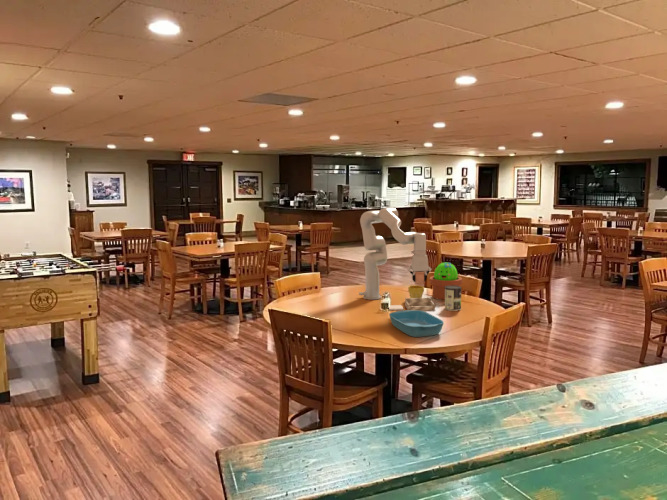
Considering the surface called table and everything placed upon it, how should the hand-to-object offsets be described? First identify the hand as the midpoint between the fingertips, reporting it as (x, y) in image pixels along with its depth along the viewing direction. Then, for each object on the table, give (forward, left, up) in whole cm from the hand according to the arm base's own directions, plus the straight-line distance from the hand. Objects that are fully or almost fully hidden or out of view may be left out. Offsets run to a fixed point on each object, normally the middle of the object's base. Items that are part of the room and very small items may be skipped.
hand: (419, 281), depth 331 cm
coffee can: (+20, -4, -18) cm, 27 cm away
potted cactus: (+23, +28, -18) cm, 41 cm away
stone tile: (-15, 0, -17) cm, 23 cm away
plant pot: (+1, +19, -18) cm, 26 cm away
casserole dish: (-11, -47, -18) cm, 52 cm away
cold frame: (0, 0, -17) cm, 17 cm away
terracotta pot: (0, 0, -2) cm, 2 cm away
